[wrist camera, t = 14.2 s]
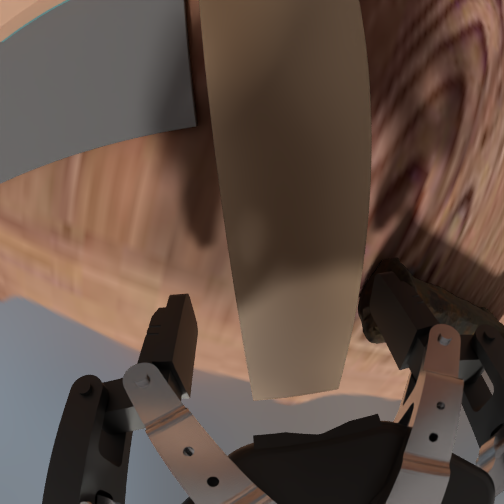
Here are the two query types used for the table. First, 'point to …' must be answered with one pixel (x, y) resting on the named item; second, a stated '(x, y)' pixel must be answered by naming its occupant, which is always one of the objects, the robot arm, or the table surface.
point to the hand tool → (436, 299)
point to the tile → (22, 14)
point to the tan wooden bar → (291, 179)
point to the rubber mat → (93, 80)
